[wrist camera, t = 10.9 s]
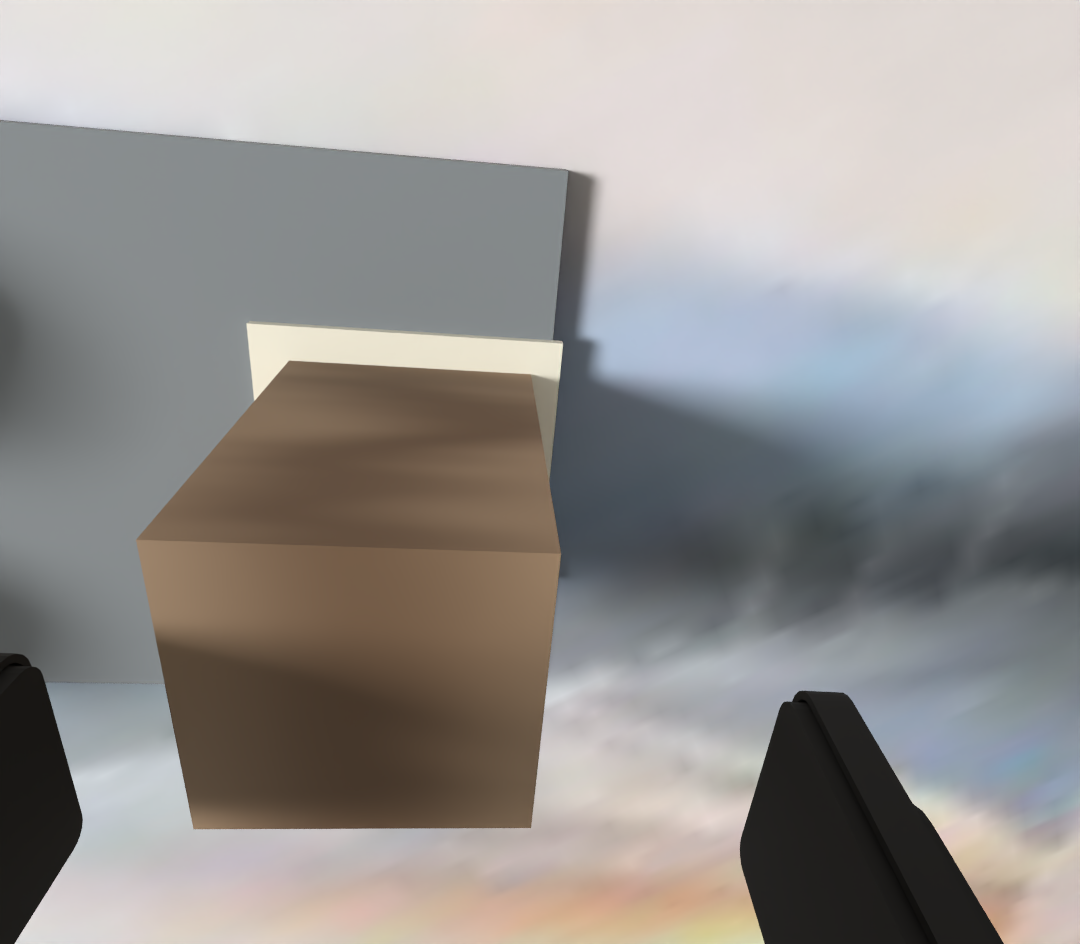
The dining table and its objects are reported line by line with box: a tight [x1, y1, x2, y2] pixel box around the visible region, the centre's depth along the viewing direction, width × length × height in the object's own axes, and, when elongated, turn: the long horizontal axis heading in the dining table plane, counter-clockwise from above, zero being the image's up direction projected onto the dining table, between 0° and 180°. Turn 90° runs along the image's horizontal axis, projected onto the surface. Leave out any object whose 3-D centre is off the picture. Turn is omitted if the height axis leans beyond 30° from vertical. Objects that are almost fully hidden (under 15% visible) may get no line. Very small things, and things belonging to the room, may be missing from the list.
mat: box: [0, 120, 568, 684], centre depth 15 cm, size 22×13×1 cm, turn 85°
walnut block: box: [136, 361, 561, 829], centre depth 13 cm, size 5×5×7 cm
